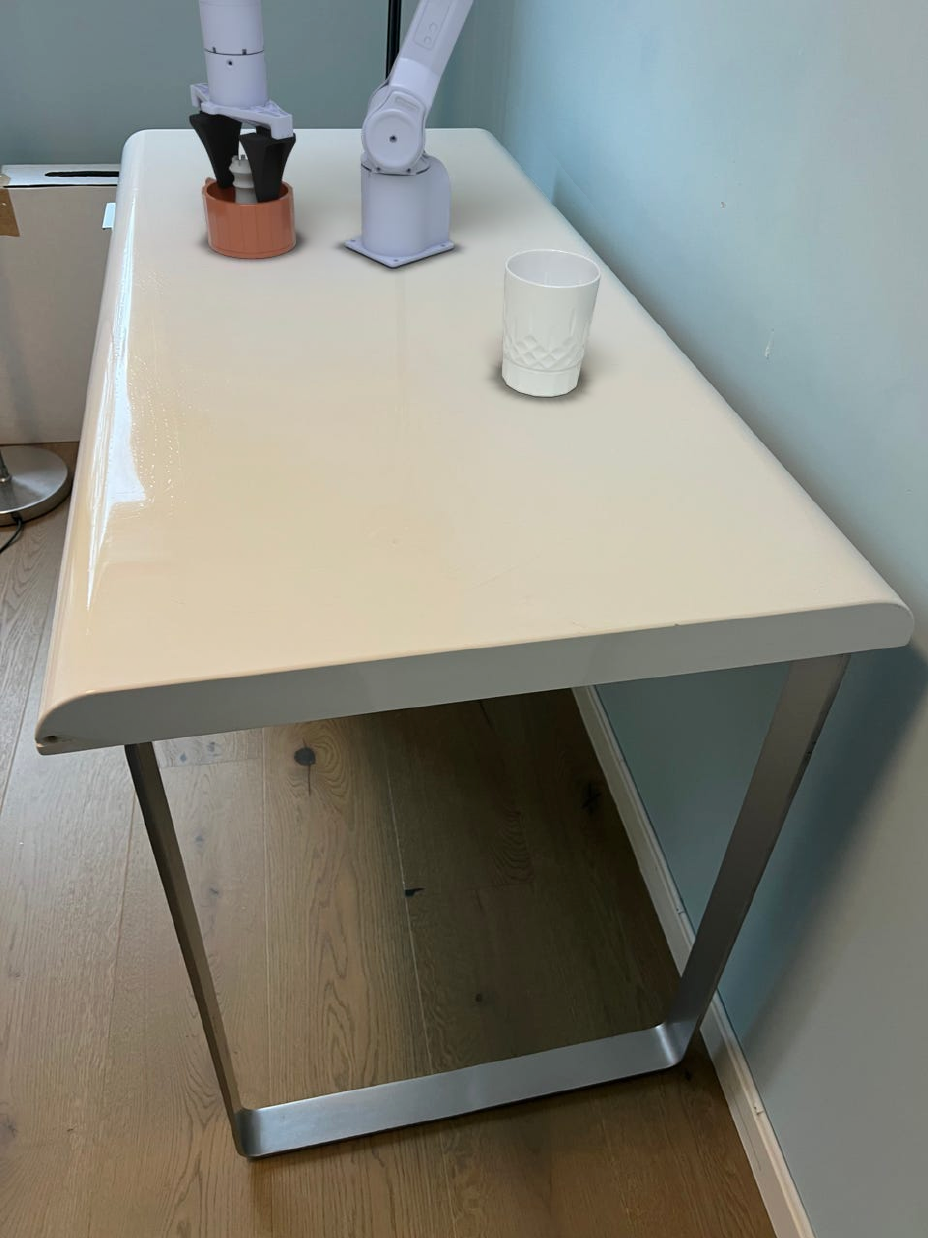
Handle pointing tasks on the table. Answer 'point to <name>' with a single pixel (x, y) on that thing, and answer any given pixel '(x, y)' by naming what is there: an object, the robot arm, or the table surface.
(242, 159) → the rook chess piece
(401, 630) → the table surface
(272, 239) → the mug
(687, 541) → the table surface
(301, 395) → the table surface
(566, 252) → the white cup
